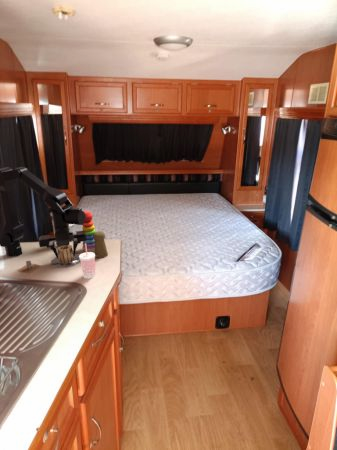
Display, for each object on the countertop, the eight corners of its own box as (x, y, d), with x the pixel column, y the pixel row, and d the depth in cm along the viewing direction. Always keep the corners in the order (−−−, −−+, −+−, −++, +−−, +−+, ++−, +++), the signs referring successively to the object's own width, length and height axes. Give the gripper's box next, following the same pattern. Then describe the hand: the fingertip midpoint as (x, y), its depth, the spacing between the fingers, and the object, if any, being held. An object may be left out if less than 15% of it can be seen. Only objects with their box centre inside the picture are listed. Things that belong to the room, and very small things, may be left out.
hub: (44, 266, 137) (42, 253, 135) (64, 253, 149) (63, 241, 146) (69, 272, 133) (67, 258, 130) (88, 258, 144) (87, 245, 142)
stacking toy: (86, 245, 157) (81, 207, 150) (102, 245, 156) (98, 208, 149) (80, 252, 150) (74, 213, 143) (96, 253, 148) (92, 214, 142)
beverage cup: (98, 277, 128) (95, 245, 123) (83, 281, 126) (78, 248, 121) (95, 270, 133) (92, 239, 128) (80, 273, 131) (76, 242, 126)
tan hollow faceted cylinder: (59, 264, 137) (57, 251, 135) (59, 258, 142) (57, 245, 140) (74, 262, 138) (72, 249, 136) (73, 256, 144) (71, 243, 141)
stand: (17, 272, 133) (15, 264, 132) (29, 265, 139) (28, 256, 138) (30, 275, 131) (28, 266, 129) (42, 267, 137) (41, 259, 135)
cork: (109, 252, 149) (107, 230, 145) (105, 258, 143) (103, 235, 139) (96, 252, 149) (94, 229, 145) (92, 258, 144) (89, 235, 140)
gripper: (35, 232, 124) (41, 269, 130) (85, 226, 129) (89, 261, 135) (37, 223, 134) (43, 257, 140) (83, 217, 139) (87, 250, 145)
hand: (66, 256), depth 140 cm, fingers open, 6 cm apart
